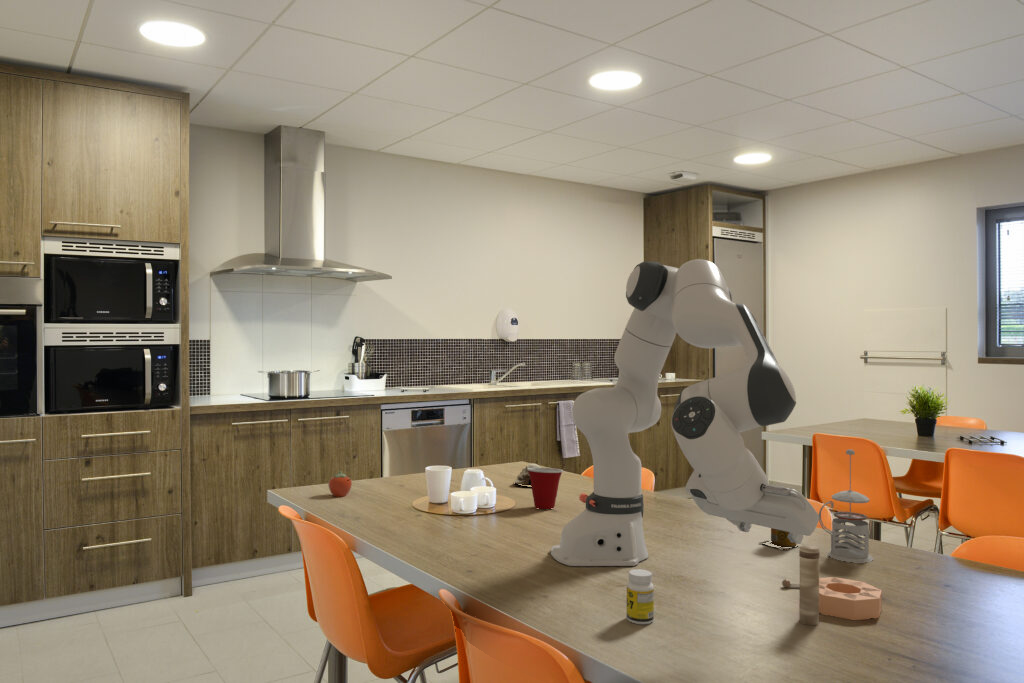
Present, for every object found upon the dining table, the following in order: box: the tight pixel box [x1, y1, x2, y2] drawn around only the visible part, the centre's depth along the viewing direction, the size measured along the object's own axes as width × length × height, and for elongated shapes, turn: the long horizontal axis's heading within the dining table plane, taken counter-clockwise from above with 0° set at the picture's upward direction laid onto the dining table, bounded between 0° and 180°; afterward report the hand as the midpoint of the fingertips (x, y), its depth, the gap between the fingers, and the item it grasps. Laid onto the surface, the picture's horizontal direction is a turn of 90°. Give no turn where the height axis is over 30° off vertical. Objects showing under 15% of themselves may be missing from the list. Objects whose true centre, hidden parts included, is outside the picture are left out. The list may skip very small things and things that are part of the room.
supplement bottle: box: [626, 568, 655, 625], centre depth 128 cm, size 5×5×8 cm
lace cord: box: [781, 578, 800, 589], centre depth 146 cm, size 18×2×2 cm, turn 88°
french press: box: [818, 448, 874, 564], centre depth 169 cm, size 10×12×25 cm
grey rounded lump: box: [514, 462, 541, 485], centre depth 254 cm, size 12×10×10 cm
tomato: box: [328, 470, 353, 498], centre depth 233 cm, size 7×7×8 cm
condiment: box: [757, 528, 797, 551], centre depth 178 cm, size 7×8×12 cm
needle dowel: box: [798, 544, 821, 626], centre depth 128 cm, size 3×3×13 cm
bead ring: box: [819, 576, 883, 621], centre depth 135 cm, size 12×12×4 cm
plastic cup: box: [527, 466, 564, 510], centre depth 217 cm, size 11×11×12 cm
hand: (771, 534), depth 120 cm, fingers open, 8 cm apart
